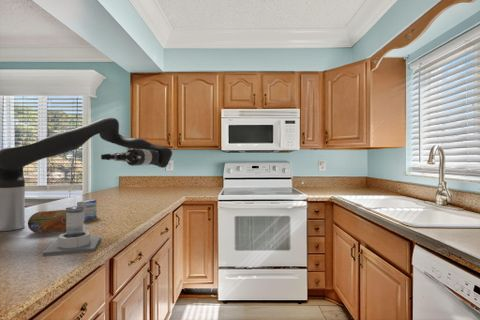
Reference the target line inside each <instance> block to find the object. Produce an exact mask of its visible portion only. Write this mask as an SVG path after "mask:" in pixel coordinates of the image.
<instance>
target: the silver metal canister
mask: <svg viewBox="0 0 480 320" xmlns="http://www.w3.org/2000/svg"><path fill="white" fill-rule="evenodd" d="M65 210H66V230H65V233H66V238H70V237H79V236H83V231H84V207H83V206H77V205H76V206H67V207H65Z"/></svg>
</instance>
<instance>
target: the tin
mask: <svg viewBox="0 0 480 320" xmlns="http://www.w3.org/2000/svg"><path fill="white" fill-rule="evenodd" d="M27 226H28V229H29V230H30V231H31V232H33V233H35V234H46V233H55V232H56V233H57V232H64V231H66V209H57V210H45V211H39V212H38V211H37V212H36V213H33V214H32V215H31V216H30V217H29V218H28V220H27Z"/></svg>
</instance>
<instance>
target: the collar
mask: <svg viewBox="0 0 480 320" xmlns="http://www.w3.org/2000/svg"><path fill="white" fill-rule="evenodd" d="M100 241H101V235H99V236H98V235H97V236H91V232H90V231H86V230H83V236H79V237H70V238H66V232H65V233H60V234H59V235H58V236H57V238H56V239H55V240H54V241H53V242H52V243H51V244H50V245H49V246H48V247H46V249H45V250H44V251H43V252H42V256H44V257H45V256H53V255H54V256H56V255H67V254H78V253H89V252H95V251H96V248H97V247H98V245H99V243H100Z"/></svg>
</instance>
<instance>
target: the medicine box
mask: <svg viewBox="0 0 480 320" xmlns="http://www.w3.org/2000/svg"><path fill="white" fill-rule="evenodd" d="M76 206H83V207H84V220H83V222H84V221H88V220H92V219H95V218H97V212H98V211H97V210H98V209H97V208H98V207H97V199H87V200H86V199H85V200H82V201H77V203H76Z"/></svg>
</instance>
